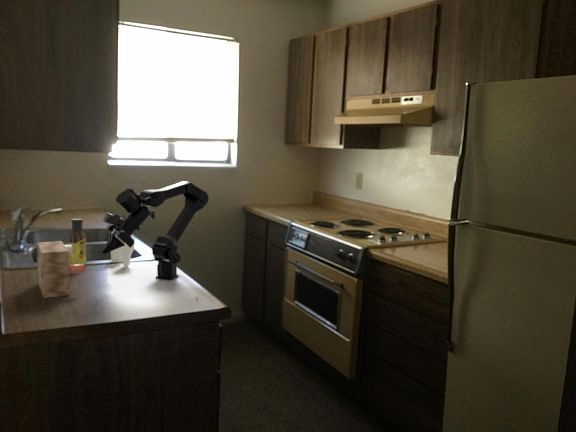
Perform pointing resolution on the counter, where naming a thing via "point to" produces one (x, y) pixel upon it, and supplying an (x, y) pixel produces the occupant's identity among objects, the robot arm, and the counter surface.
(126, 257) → the lightbulb
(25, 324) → the counter surface
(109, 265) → the counter surface
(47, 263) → the wooden block
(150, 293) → the counter surface
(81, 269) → the salmon pink cylinder
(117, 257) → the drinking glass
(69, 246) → the ivory button
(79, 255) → the sauce bottle
